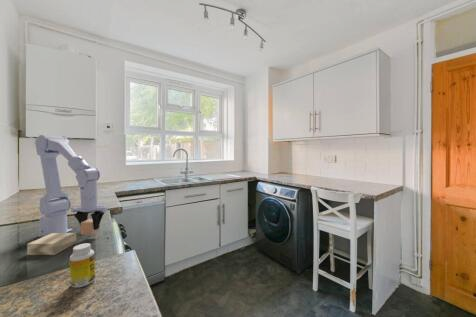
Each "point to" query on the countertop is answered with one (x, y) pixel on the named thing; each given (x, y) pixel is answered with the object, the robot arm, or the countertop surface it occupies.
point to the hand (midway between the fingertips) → (90, 229)
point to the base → (51, 244)
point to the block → (88, 227)
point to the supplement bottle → (82, 265)
